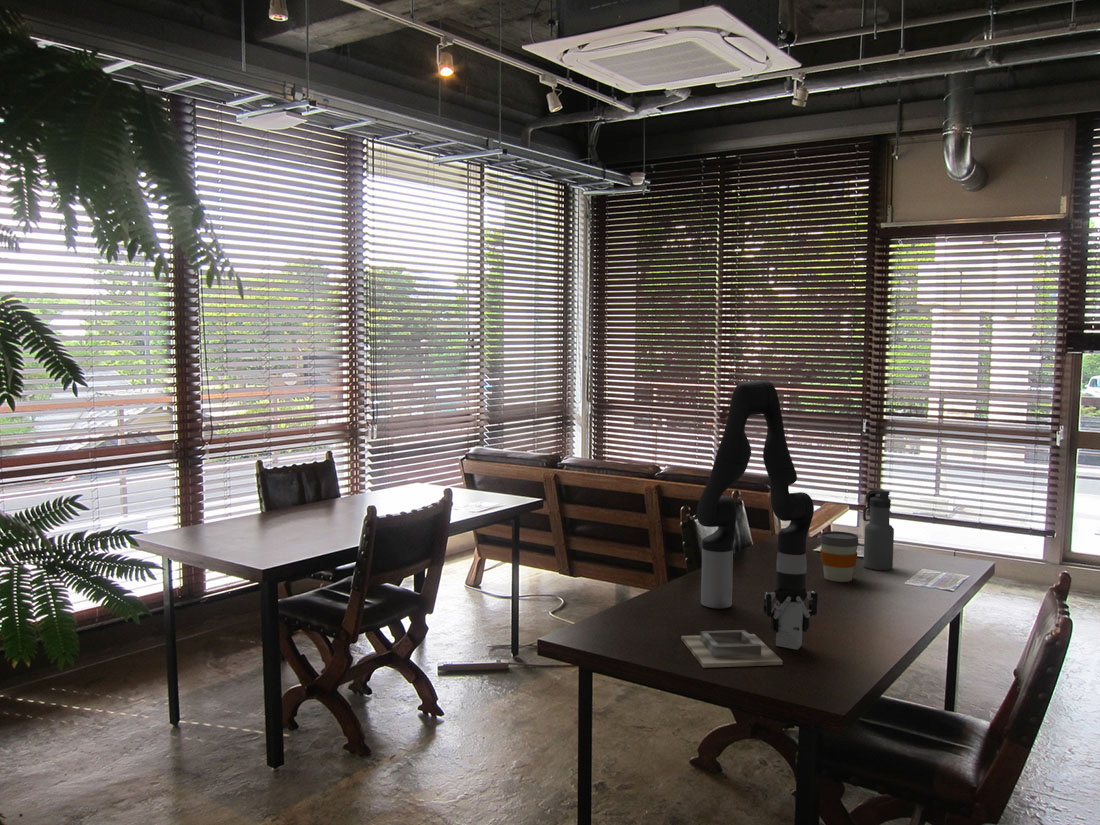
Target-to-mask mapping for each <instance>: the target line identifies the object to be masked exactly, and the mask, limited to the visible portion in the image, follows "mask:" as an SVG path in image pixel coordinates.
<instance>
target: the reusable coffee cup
mask: <svg viewBox="0 0 1100 825" xmlns="http://www.w3.org/2000/svg"><path fill="white" fill-rule="evenodd" d="M819 543H820V561H821V564H822V568H823V578H824V579H826V580H828V581H831V582H837V583H844V582H845V583H846V582H850V581H852V580H853V575H854V570H855V567H856V564H857V558H858V547H859V545H860V544H859V536H858V535H857V534H855V533H851V532H847V531H836V530H835V531H833V530H830V531H823V532H820V538H819Z"/></svg>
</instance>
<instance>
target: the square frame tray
mask: <svg viewBox="0 0 1100 825" xmlns="http://www.w3.org/2000/svg"><path fill="white" fill-rule="evenodd" d="M681 641H682V642H683V644H684V645H685V646H686V647H687V649H688V650H689V651H690V653H691V654H692V655H693V656H694V658H695V659H696V660H697V662H698V663H699V665H700V666H701V667H702V668H705V669H706V668H725V667H727V668H728V667H729V668H731V667H734V668H735V667H760V666H762V667H763V666H765V667H766V666H782V665H784V664H783V662H784V661H783V660H782V659H781V658H780V657H779V656H778V655H777V654H776V653H775V652H774V651H773V650H772V649H770V648H771V647H768V646H767V644H766V643H764V642H763V641H762V640H761V638H759V637H758V636H757V635H756V634H755V633H749V632H748V631H747V630H746V629H739V630H737V629H735V630H733V629H732V630H704V631H703V630H701V631H700V634H699V635H681Z"/></svg>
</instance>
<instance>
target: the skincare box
mask: <svg viewBox="0 0 1100 825" xmlns="http://www.w3.org/2000/svg"><path fill="white" fill-rule="evenodd" d="M803 603H804V604H805V600H804V601H803ZM803 603H802V602H799V603H798V602H789V603H788V604H787V606H786V607H785V609H784V610H783V612H781V613H780V615H779V616H778V619H779V626H778V633H776V635H775V646H777V647H782V648H786V649H791V650H799V649H800V648H801V647H802V645H803V644H802V643H803V631H802V630H803V611H802V604H803ZM780 605H781V604H780V602H779V601H778V607H779V606H780Z"/></svg>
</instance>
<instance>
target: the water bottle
mask: <svg viewBox="0 0 1100 825" xmlns="http://www.w3.org/2000/svg"><path fill="white" fill-rule="evenodd" d="M877 495H879V496H877ZM889 496H890V491H889V490H886V489H872V490H871V489H870V490H869V491H868V492H867V493H866V495H865V499H864V500H865V502H866V504H867V506H865V507H864V508H863V510H862V519H863V520H862V521H864V522H869V523H867V524H866V525H865V526H864V538H863V539H864V540H863V542H864V543H863V566H864V567H865V568H866V569H868V568H869V570H872V569H874V571H880V570H886V571H889V570H892V569H893V564H894V561H893V560H894V540H895V539H894V538H895V528H894V527H893V526H892V525H891V524H890V517H891V516H890V515H891V514H890V512H891V506H892V505H891V502H892V499H891V498H889ZM867 510H870V511H869V514H870V515H869V519H867V518H866V516H867V515H866V514H867V513H866V512H867Z"/></svg>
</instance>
